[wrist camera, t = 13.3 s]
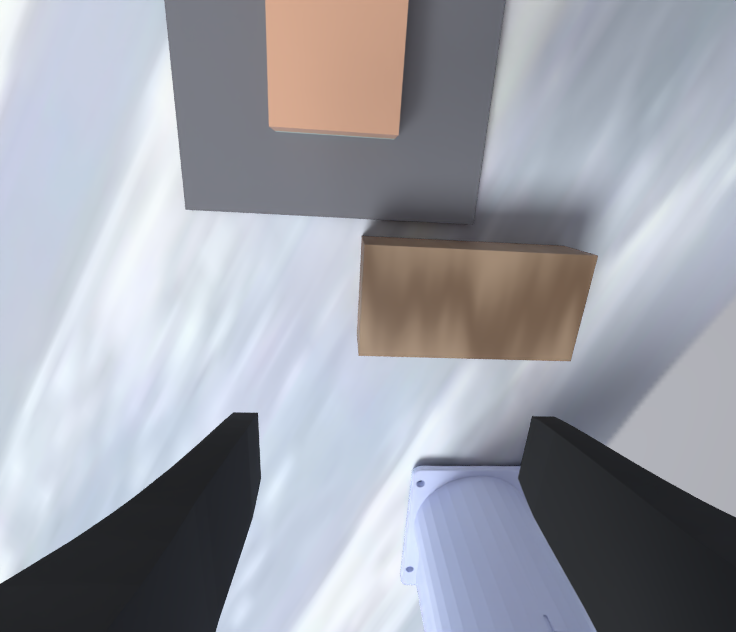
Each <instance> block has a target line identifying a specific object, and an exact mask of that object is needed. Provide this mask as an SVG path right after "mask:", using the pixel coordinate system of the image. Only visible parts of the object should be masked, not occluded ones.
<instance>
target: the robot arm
mask: <svg viewBox="0 0 736 632" xmlns="http://www.w3.org/2000/svg"><path fill="white" fill-rule="evenodd" d="M260 480H261V469H260V448H259V428H258V413H232V414H231V415H230V416H229V417H228V418H226V419H225V420H224V421H223V422H222V423H221V424H220V425H219V426H217V427H216V428H215V429H214V430H213V431H212V432H211V433H210V434H209V435H208V436H207V437H205V438H204V439H203V440H202V441H201V442H200V443H199V444H198V445H197V446H195V447H194V448H193V449H192V450H191V451H190V452H189V453H187V454H186V455H185V456H184V457H183V458H182V459H181V460H179V461H178V462H177V463H176V464H175V465H174V466H172V467H171V468H170V469H169V470H168V471H166V472H165V473H164V474H163V475H161V476H160V477H159V478H158V479H156V480H155V481H154V482H153V483H151V484H150V485H149V486H147V487H146V488H145V489H144V490H142V491H141V492H140V493H139V494H137V495H136V496H135V497H134V498H132V499H131V500H129V501H128V502H127V503H125V504H124V505H123V506H121V507H120V508H118V509H117V510H116V511H114V512H113V513H112V514H110V515H109V516H107V517H106V518H104V519H103V520H101V521H100V522H98V523H97V524H95V525H94V526H93V527H91V528H90V529H88V530H87V531H85V532H84V533H82V534H81V535H79V536H78V537H76V538H75V539H73V540H72V541H70V542H68V543H67V544H65V545H63V546H62V547H60V548H58V549H57V550H55V551H54V552H52V553H50V554H49V555H47V556H45V557H44V558H42V559H40V560H39V561H37V562H36V563H34V564H32V565H31V566H29V567H27V568H26V569H24V570H22V571H21V572H19V573H18V574H16V575H14V576H13V577H11V578H9V579H8V580H6V581H4V582H3V583H1V584H0V632H216V628H217V625H218V621H219V618H220V615H221V612H222V609H223V606H224V603H225V600H226V597H227V594H228V591H229V588H230V585H231V582H232V579H233V576H234V573H235V570H236V567H237V564H238V561H239V558H240V555H241V552H242V549H243V546H244V543H245V540H246V537H247V534H248V531H249V527H250V524H251V521H252V518H253V514H254V509H255V505H256V500H257V495H258V490H259V485H260ZM420 480H423V481H422V482H418V481H420ZM400 577H401V582H402V583H403V584H405V585H416V586H417V592H418V597H419V603H420V608H421V614H422V620H423V625H424V631H425V632H736V517H734V516H731V515H730V514H727V513H725V512H723V511H721V510H719V509H717V508H715V507H713V506H711V505H709V504H707V503H706V502H703V501H702V500H700V499H698V498H696V497H694V496H692V495H691V494H689V493H687V492H685V491H683V490H681V489H680V488H678V487H676V486H674V485H672V484H670V483H669V482H667V481H665V480H663V479H661V478H660V477H658V476H656V475H654V474H653V473H651V472H649V471H647V470H646V469H644V468H642V467H641V466H639V465H637V464H635V463H634V462H632V461H630V460H629V459H627V458H625V457H624V456H622V455H620V454H619V453H617V452H615V451H614V450H612V449H610V448H609V447H607V446H605V445H604V444H602V443H600V442H599V441H597V440H595V439H594V438H592V437H590V436H588V435H587V434H585V433H583V432H582V431H580V430H578V429H576V428H575V427H573V426H571V425H569V424H568V423H566V422H564V421H562V420H560V419H558V418H556V417H538V416H532V419H531V423H530V428H529V432H528V436H527V441H526V445H525V449H524V454H523V458H522V462H521V466H418V467H416V468H414V470H413V471H412V477H411V486H410V495H409V503H408V512H407V521H406V529H405V538H404V547H403V555H402V564H401V572H400Z"/></svg>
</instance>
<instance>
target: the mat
mask: <svg viewBox="0 0 736 632" xmlns="http://www.w3.org/2000/svg"><path fill="white" fill-rule="evenodd" d="M164 1H165V10H166V20H167V30H168V40H169V50H170V60H171V70H172V80H173V90H174V100H175V109H176V119H177V129H178V139H179V149H180V159H181V169H182V179H183V189H184V199H185V208H186V210H203V211H222V212H242V213H261V214H280V215H300V216H319V217H339V218H358V219H377V220H397V221H416V222H435V223H455V224H473V223H474V216H475V209H476V202H477V195H478V188H479V181H480V175H481V168H482V161H483V154H484V147H485V140H486V133H487V126H488V119H489V112H490V105H491V98H492V91H493V84H494V77H495V70H496V63H497V56H498V49H499V42H500V35H501V28H502V21H503V14H504V7H505V0H409V2H408V15H407V29H406V42H405V56H404V70H403V83H402V97H401V110H400V124H399V135H398V136H397V137H396V138H395V139H394V140H392V139H377V138H362V137H347V136H332V135H318V134H303V133H288V132H275V131H274V130H273V129H272V128H270V127H269V114H268V79H267V44H266V9H265V0H164Z"/></svg>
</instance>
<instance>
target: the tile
mask: <svg viewBox="0 0 736 632" xmlns="http://www.w3.org/2000/svg"><path fill="white" fill-rule="evenodd" d="M408 2H409V0H265V9H266V44H267V79H268V114H269V127H270V128H272V129H273V130H274V131H275V132H288V133H303V134H318V135H332V136H347V137H362V138H377V139H392V140H394V139H395V138H396V137H397V136H398V135H399V124H400V110H401V97H402V83H403V70H404V56H405V42H406V29H407V15H408Z"/></svg>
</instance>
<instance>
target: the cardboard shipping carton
mask: <svg viewBox="0 0 736 632" xmlns="http://www.w3.org/2000/svg"><path fill="white" fill-rule="evenodd" d="M597 258H598V256H597V255H594V254H591V253H587V252H584V251H580V250H577V249H573V248H570V247H566V246H559V245H539V244H518V243H498V242H477V241H457V240H436V239H416V238H395V237H375V236H362V243H361V263H360V284H359V304H358V324H357V340H358V353H359V356H390V357H428V358H466V359H504V360H542V361H571V358H572V354H573V350H574V346H575V342H576V338H577V335H578V331H579V327H580V323H581V319H582V315H583V312H584V308H585V304H586V300H587V296H588V292H589V289H590V285H591V281H592V277H593V273H594V269H595V266H596V262H597Z"/></svg>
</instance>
